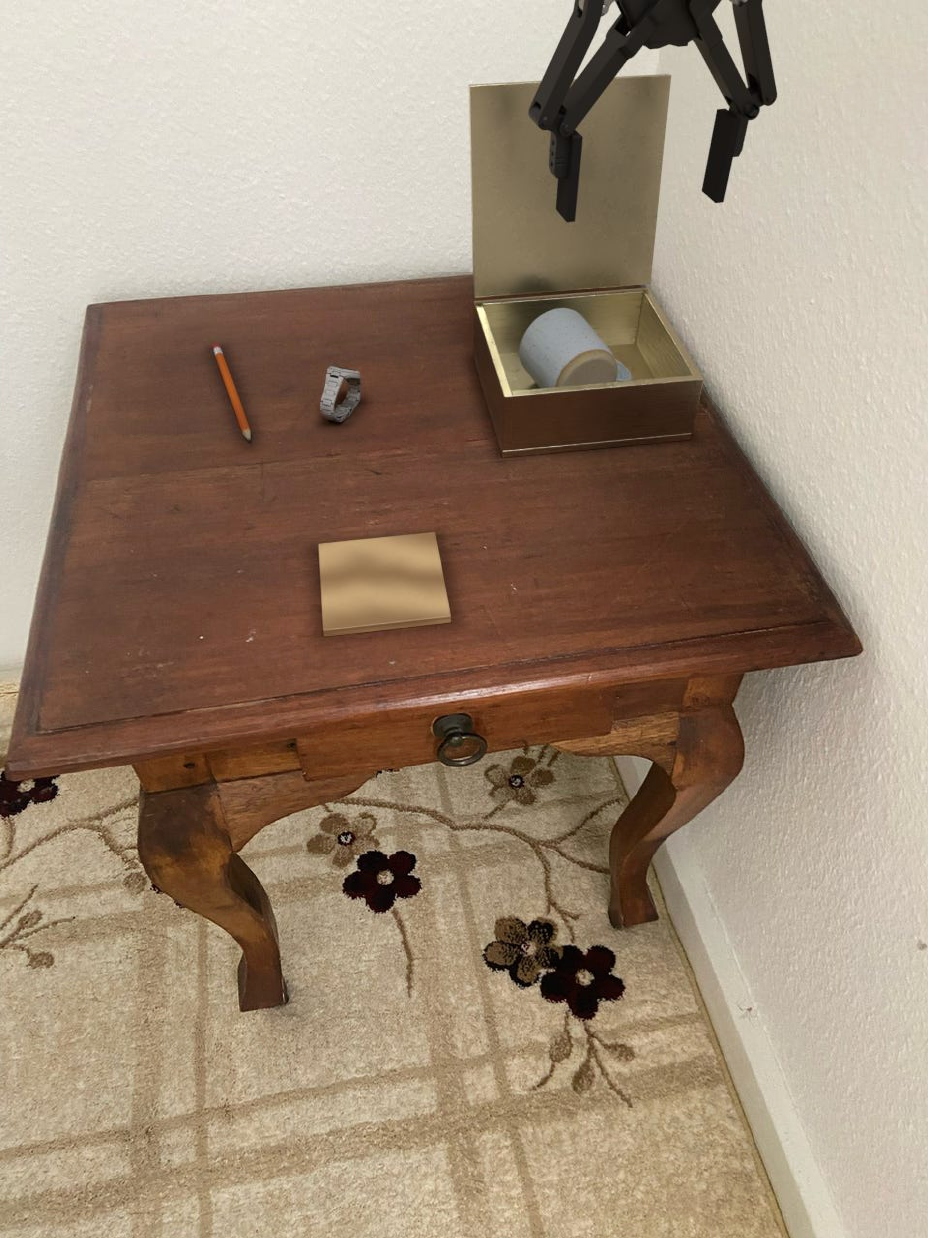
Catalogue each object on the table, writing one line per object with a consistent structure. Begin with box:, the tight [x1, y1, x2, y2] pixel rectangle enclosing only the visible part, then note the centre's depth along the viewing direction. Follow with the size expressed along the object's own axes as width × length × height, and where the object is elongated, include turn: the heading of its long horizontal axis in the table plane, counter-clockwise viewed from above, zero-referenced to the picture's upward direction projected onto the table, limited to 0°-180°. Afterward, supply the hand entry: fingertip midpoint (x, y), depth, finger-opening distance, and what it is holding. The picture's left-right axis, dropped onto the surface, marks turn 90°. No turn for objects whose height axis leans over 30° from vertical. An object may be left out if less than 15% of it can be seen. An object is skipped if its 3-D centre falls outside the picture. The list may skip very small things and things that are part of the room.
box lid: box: [468, 73, 672, 298], centre depth 86 cm, size 19×19×5 cm
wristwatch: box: [319, 365, 363, 423], centre depth 86 cm, size 4×6×5 cm, turn 158°
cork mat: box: [317, 531, 452, 638], centre depth 71 cm, size 10×10×1 cm
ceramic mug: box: [519, 308, 632, 389], centre depth 86 cm, size 11×8×8 cm
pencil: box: [211, 343, 252, 444], centre depth 90 cm, size 1×19×1 cm, turn 21°
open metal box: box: [473, 287, 705, 459], centre depth 87 cm, size 18×19×7 cm
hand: (639, 206), depth 75 cm, fingers open, 13 cm apart
